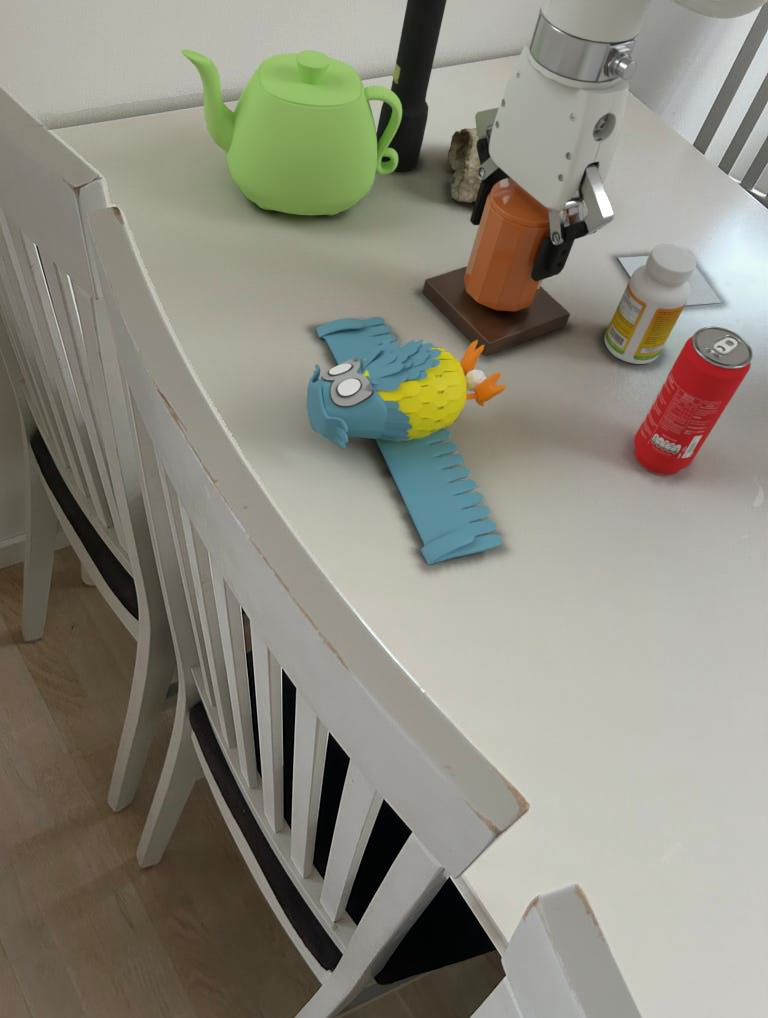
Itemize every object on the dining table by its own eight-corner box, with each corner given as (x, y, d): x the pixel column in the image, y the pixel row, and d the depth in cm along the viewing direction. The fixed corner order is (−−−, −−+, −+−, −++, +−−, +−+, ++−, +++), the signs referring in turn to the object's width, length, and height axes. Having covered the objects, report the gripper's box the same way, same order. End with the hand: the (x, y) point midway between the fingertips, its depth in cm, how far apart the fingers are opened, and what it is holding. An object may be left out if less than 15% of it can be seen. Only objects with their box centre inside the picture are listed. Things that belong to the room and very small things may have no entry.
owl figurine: (577, 466, 71) (382, 502, 68) (541, 542, 79) (364, 578, 75) (433, 233, 86) (266, 253, 82) (414, 315, 93) (260, 337, 89)
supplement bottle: (664, 340, 95) (710, 251, 87) (651, 373, 92) (698, 284, 84) (610, 321, 96) (651, 231, 88) (596, 352, 93) (637, 263, 85)
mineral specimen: (455, 92, 105) (596, 100, 105) (444, 159, 111) (577, 168, 111) (460, 154, 97) (612, 164, 97) (448, 223, 103) (591, 232, 103)
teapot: (177, 221, 97) (178, 86, 86) (183, 137, 106) (184, 4, 95) (396, 239, 99) (424, 109, 89) (385, 155, 108) (410, 27, 97)
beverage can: (617, 451, 86) (676, 339, 76) (653, 427, 88) (715, 315, 78) (663, 488, 84) (730, 378, 74) (699, 462, 86) (769, 353, 76)
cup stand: (501, 266, 99) (535, 161, 90) (565, 326, 94) (608, 223, 85) (421, 292, 95) (448, 186, 86) (484, 356, 91) (520, 251, 82)
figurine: (666, 289, 99) (674, 273, 98) (654, 272, 101) (661, 255, 99) (686, 288, 100) (695, 272, 98) (674, 270, 101) (682, 254, 100)
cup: (505, 257, 95) (534, 169, 88) (550, 299, 92) (583, 211, 85) (450, 275, 93) (474, 186, 85) (494, 319, 90) (523, 230, 82)
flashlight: (407, 143, 109) (365, 147, 108) (460, -114, 90) (410, -113, 88) (425, 169, 107) (382, 173, 106) (484, -90, 87) (433, -88, 86)
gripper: (696, 92, 72) (608, 293, 87) (545, -15, 80) (487, 186, 94) (622, 112, 70) (544, 316, 84) (473, -1, 77) (425, 204, 92)
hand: (514, 247), depth 89 cm, fingers open, 8 cm apart
